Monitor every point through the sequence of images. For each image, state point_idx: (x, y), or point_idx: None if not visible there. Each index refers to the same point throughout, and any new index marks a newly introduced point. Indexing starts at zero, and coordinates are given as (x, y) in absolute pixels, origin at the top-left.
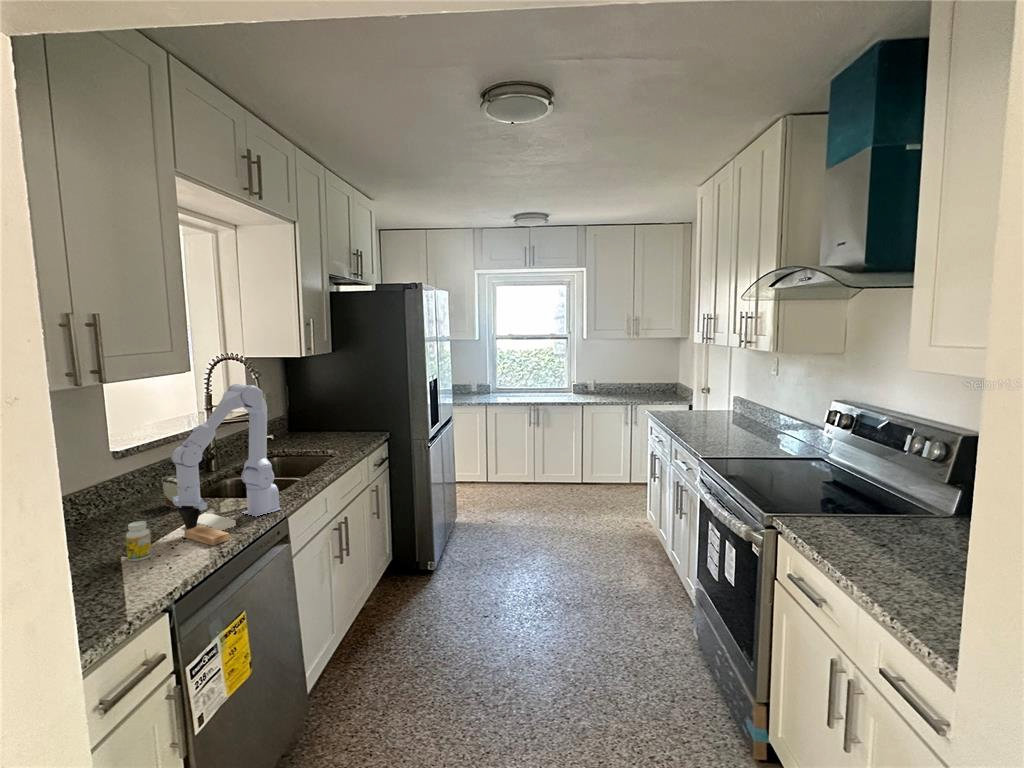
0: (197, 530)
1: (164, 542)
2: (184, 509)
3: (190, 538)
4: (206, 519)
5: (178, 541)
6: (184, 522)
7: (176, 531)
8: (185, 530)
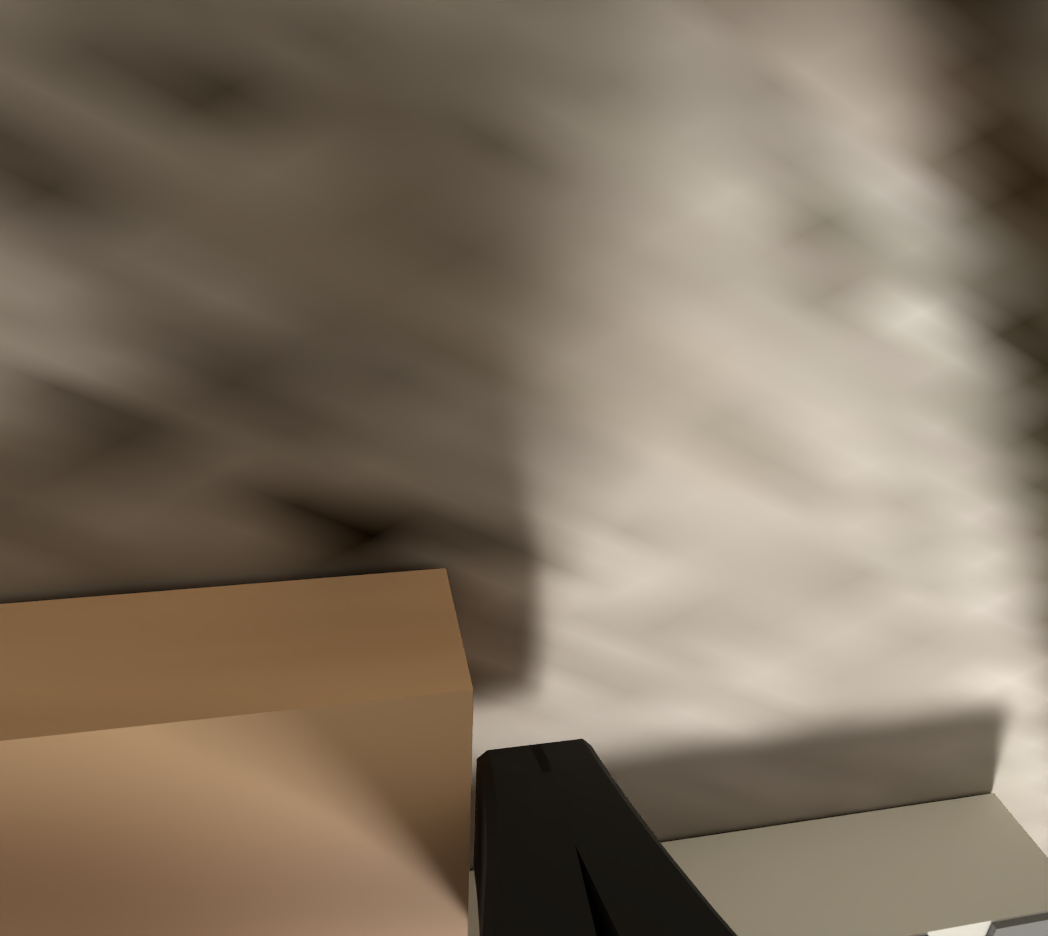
0: (89, 877)
1: (577, 81)
2: None
3: (160, 594)
4: None
5: (273, 341)
6: (677, 911)
7: (957, 612)
8: (429, 705)
